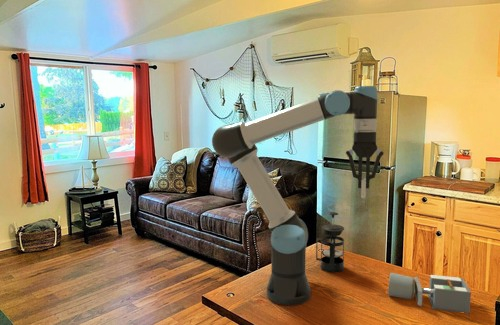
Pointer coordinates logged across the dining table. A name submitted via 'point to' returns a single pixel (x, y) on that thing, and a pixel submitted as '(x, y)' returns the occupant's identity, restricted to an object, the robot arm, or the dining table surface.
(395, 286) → the ceramic mug
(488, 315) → the dining table surface
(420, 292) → the plunger
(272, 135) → the robot arm
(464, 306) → the grey bracket housing
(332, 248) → the french press
